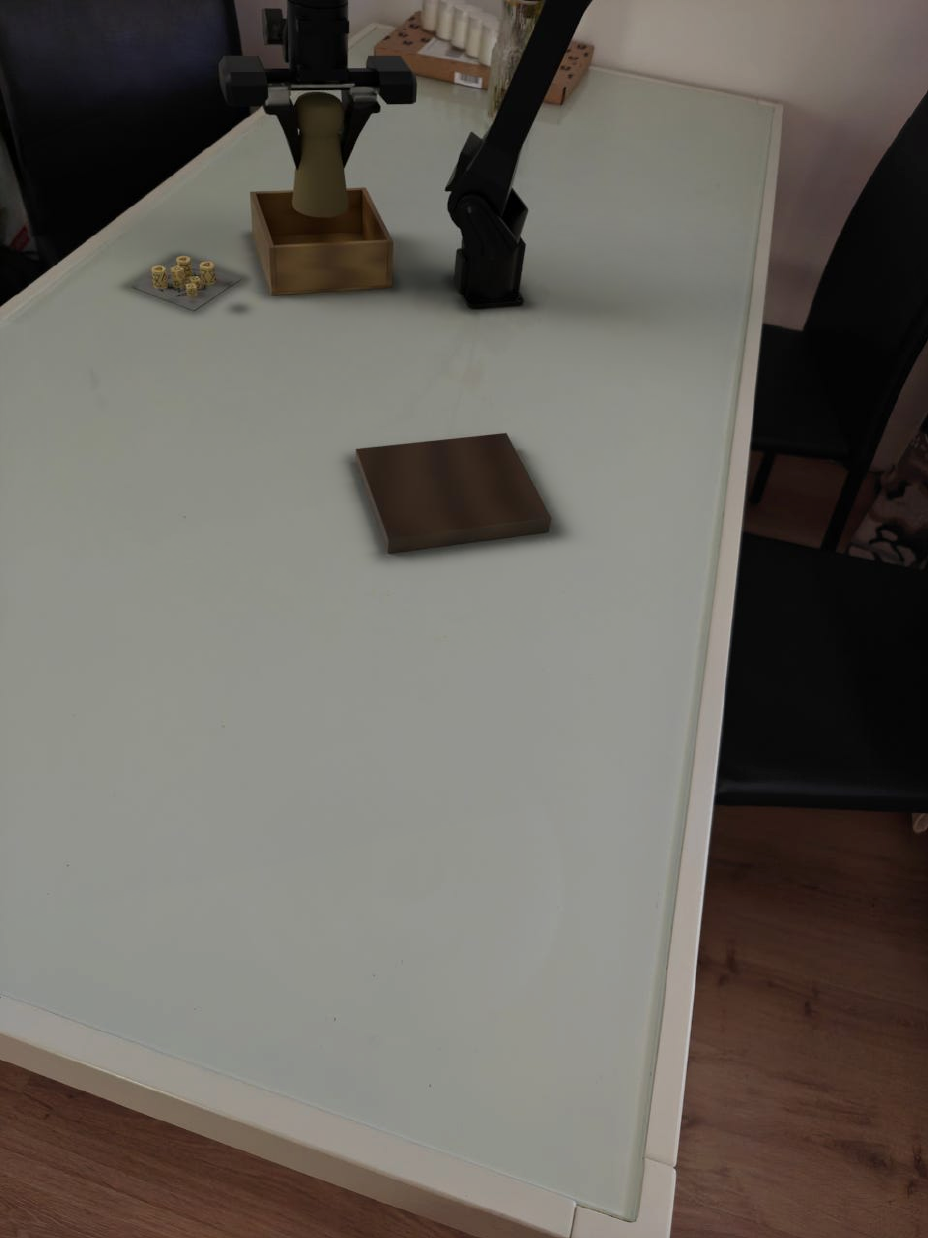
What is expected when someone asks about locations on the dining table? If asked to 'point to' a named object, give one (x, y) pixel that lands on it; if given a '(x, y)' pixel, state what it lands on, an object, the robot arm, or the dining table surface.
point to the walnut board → (450, 492)
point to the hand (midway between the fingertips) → (320, 168)
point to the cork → (320, 156)
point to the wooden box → (321, 245)
